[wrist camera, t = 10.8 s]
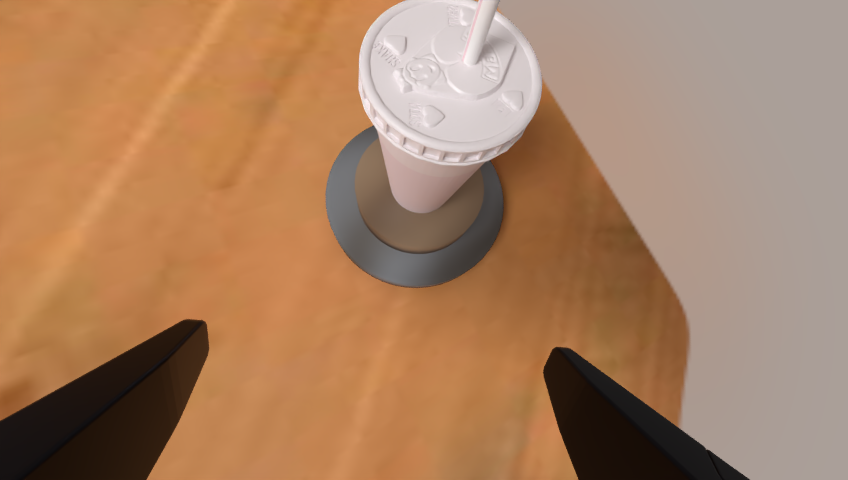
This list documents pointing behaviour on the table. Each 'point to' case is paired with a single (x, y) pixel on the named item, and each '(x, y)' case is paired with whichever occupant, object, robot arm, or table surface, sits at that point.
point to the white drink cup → (445, 93)
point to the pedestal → (408, 220)
